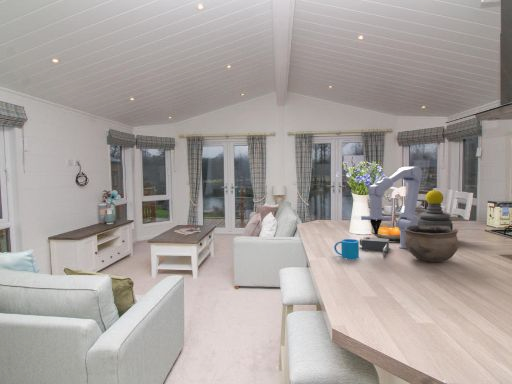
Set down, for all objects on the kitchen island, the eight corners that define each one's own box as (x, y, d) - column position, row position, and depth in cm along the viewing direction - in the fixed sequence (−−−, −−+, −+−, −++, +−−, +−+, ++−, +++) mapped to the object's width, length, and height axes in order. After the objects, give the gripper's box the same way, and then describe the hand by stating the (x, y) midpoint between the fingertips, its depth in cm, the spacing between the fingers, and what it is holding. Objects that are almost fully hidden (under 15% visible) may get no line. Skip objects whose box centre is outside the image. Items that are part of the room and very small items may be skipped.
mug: (360, 255, 157) (360, 239, 157) (356, 260, 150) (356, 243, 150) (336, 253, 163) (336, 237, 163) (332, 257, 156) (331, 241, 156)
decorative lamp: (409, 238, 193) (409, 190, 192) (433, 236, 199) (433, 188, 197) (435, 245, 175) (435, 191, 174) (460, 242, 181) (461, 190, 179)
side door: (385, 250, 165) (385, 243, 165) (389, 251, 164) (389, 243, 164) (382, 256, 154) (382, 248, 154) (385, 257, 153) (385, 249, 153)
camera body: (389, 247, 172) (389, 237, 172) (387, 251, 165) (387, 240, 164) (360, 245, 179) (360, 235, 178) (358, 248, 171) (358, 238, 171)
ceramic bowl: (467, 268, 133) (467, 233, 132) (412, 266, 138) (412, 232, 137) (446, 254, 155) (447, 224, 154) (399, 253, 159) (399, 224, 158)
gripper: (360, 208, 162) (360, 234, 163) (390, 209, 156) (390, 236, 157) (362, 207, 169) (362, 232, 169) (391, 207, 162) (391, 233, 163)
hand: (376, 234), depth 164 cm, fingers closed
